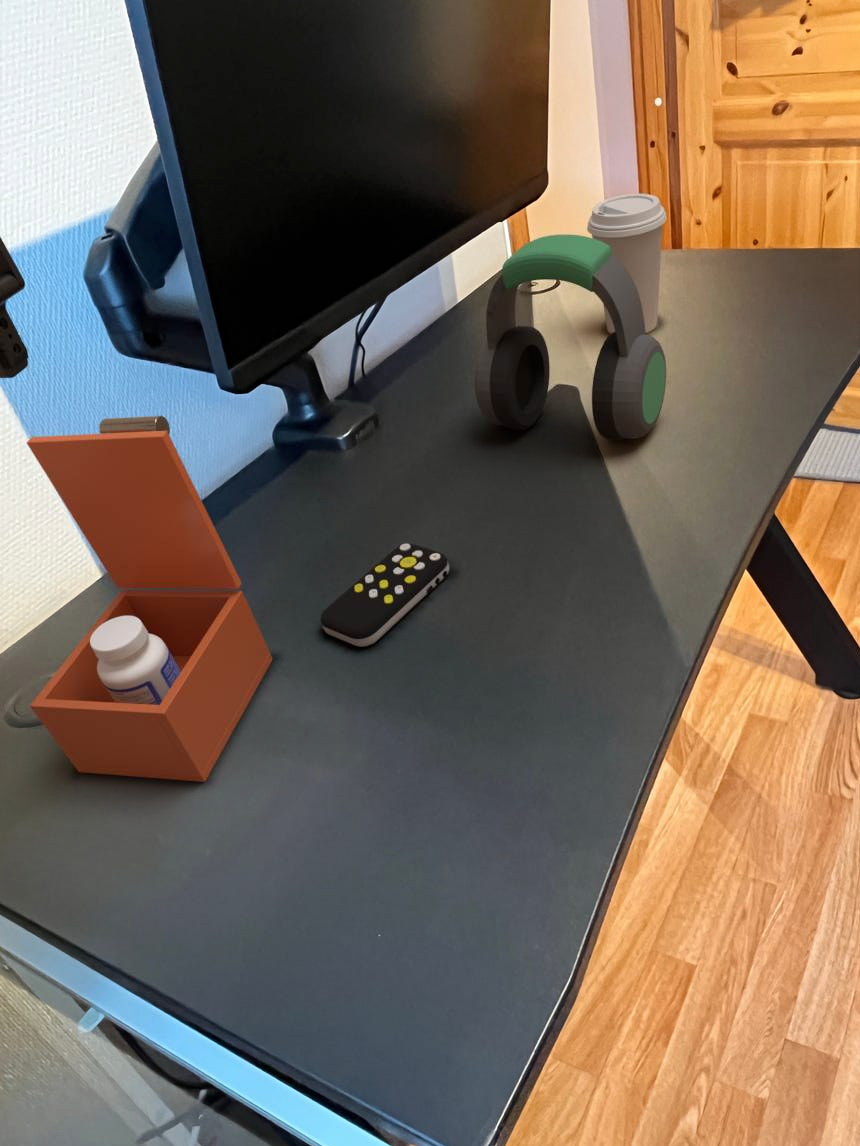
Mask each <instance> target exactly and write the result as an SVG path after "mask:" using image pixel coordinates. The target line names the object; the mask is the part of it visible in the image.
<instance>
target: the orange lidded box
mask: <svg viewBox="0 0 860 1146" xmlns="http://www.w3.org/2000/svg"><path fill="white" fill-rule="evenodd" d="M120 616H135V617H137V618H139V619H140V620H141V622H142V623H143V625H144V626H145V628H146V629H147V631H148V633H149V634H153V635H156V636H158V637H159V638H161V639H162V640H163V642H164V643H165V645H166V646H167V648H168V650H169V651H170V653H171V655H172V657H173V659H174V660H175V662H176V664H177V666H178V667H179V669H180V671H181V673H180V674H179V676H178V677H177V679H176V681H175V682H174V684H173V685H172V687H171V688H170V690H169V691H168V693H167V694H166V696H165V697H164V699H163V701H162V702H161V704H160V705H149V704H130V703H116V702H115V701H114V699H113V698H112V696H111V695H110V693H109V692H108V690H107V689H106V687H105V686H104V684H103V683H102V681H101V679H100V677H99V675H98V672H97V664H98V661H99V659H98V658H97V657H96V655H95V653H94V651H93V649H92V647H91V645H90V638H91V636H92V634H93V632H94V631H95V630H96V629H97V628H98V627H99V626H100V625H102V624H103V623H105V622H107V621H109V620H111V619H113V618H116V617H120ZM273 660H274V659H273V657H272V654H271V652H270V649H269V647H268V645H267V643H266V641H265V639H264V637H263V635H262V632H261V630H260V628H259V624H258V623H257V621H256V619H255V616H254V615H253V612H252V610H251V608H250V605H249V603H248V600H247V599H246V596H245V594H244V593H243V591H242V590H205V589H121V590H120V591H119V592H118V594H117V595H116V596H115V597H114V599H112V601H111V602H110V604H109V605H108V606H107V607H106V609H105V610H104V611H103V612H102V613H101V615H100V616H99V618H98V619H97V620H96V621H95V622H94V624H93V625H92V626H91V627H90V629H89V630H88V631H87V632H86V634H85V635H84V637H83V638H82V639H81V641H80V642H79V643H78V644H77V646H75V648H74V649H73V651H72V652H71V653H70V654H69V656H68V657H66V660H64V662H63V663H62V664H61V666H60V667H59V668H58V669H57V670H56V672H55V673H54V674H53V676H52V677H51V678H50V679H49V681H48V682H47V684H46V685H45V686H44V687H43V688H42V690H41V691H40V692H39V693H38V695H37V696H36V697H35V698H34V700H33V701H32V702H31V704H30V705H29V707H30V709H31V710H32V711H33V712H34V714H35V715H36V716H37V718H38V720H40V722H41V723H42V725H43V726H44V728H45V729H46V730H47V732H49V734H50V735H51V737H52V738H53V739H54V741H55V742H56V743H57V745H58V747H60V749H61V750H62V752H63V753H64V754H65V756H66V757H67V758H68V759H69V761H70V762H71V764H72V766H74V767H75V769H76V770H77V772H79V773H87V774H97V775H99V774H100V775H110V776H114V775H115V776H123V777H125V776H126V777H136V778H149V779H150V778H151V779H160V780H161V779H162V780H172V781H173V780H174V781H187V782H197V783H199V782H200V783H206V782H207V779H208V777H209V775H210V774H211V771H212V770H213V768H214V767H215V765H216V764H217V762H218V760H219V758H220V756H221V754H222V752H223V750H224V748H225V746H226V745H227V743H228V741H229V740H230V738H231V736H232V734H233V732H234V730H235V729H236V727H237V725H238V723H239V721H240V720H241V719H242V716H243V714H244V713H245V710H246V709H247V707H248V705H249V703H250V702H251V700H252V698H253V696H254V694H255V692H256V690H257V688H259V685H260V683H261V681H262V679H263V678H264V676H265V674H266V672H267V670H268V669H269V667H270V666H271V663H272V661H273Z"/></svg>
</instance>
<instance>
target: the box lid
mask: <svg viewBox="0 0 860 1146" xmlns="http://www.w3.org/2000/svg"><path fill="white" fill-rule="evenodd" d="M98 430H99V433H85V434H66V435H44V436H43V435H42V436H41V435H40V436H31V437H30V438H29V439H27V441H26V445H27V446H28V448H29V449H30V451H31V452H32V454H33V456H34V457H35V459H36V461H37V462H38V463H39V466H40V467H41V468H42V470H43V472H44V473H45V475H46V477H47V478H48V480H49V481H50V483H51V485H52V486H53V488H54V489H55V491H56V492H57V494H58V496H59V497H60V499H61V500H62V503H64V505H65V507H66V508H67V510H68V512H69V513H70V515H71V516H72V518H73V520H74V522H75V523H76V524H77V526H78V528H79V529H80V531H81V533H82V534H83V536H84V537H85V539H86V541H87V542H88V543H89V545H90V547H91V549H92V550H93V551H94V553H95V555H96V556H97V558H98V559H99V561H100V563H101V564H102V566H103V567H104V569H105V571H106V573H107V574H108V576H109V577H110V579H111V580H112V582H113V583H114V585H115V586H116V588H117V589H169V590H239V588H241V585H242V580H241V578H240V577H239V575H238V572H237V571H236V568H235V567H234V564H233V562H232V559H231V557H230V556H229V554H228V552H227V550H226V548H225V546H224V544H223V542H222V540H221V538H220V536H219V534H218V532H217V530H216V527H215V525H214V524H213V522H212V519H211V517H210V515H209V513H208V512H207V509H206V507H205V505H204V503H203V501H202V500H201V499H202V498H201V497H200V495H199V492H198V491H197V489H196V486H195V485H194V483H193V480H192V479H191V477H190V474H189V473H188V470H187V469H186V466H185V465H184V462H183V460H182V458H181V456H180V454H179V452H178V451H177V448H176V446H175V443H174V442H173V439H172V438H171V436H170V434H171V433H170V432H171V427H170V424H169V420H168V419H167V418H166V417H165V416H163V415H148V416H147V415H146V416H127V417H108V418H103V419H102V420H101V421H100V423H99V427H98Z"/></svg>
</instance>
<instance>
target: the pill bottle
mask: <svg viewBox="0 0 860 1146" xmlns="http://www.w3.org/2000/svg"><path fill="white" fill-rule="evenodd" d="M90 645H91V647H92V649H93V651H94V653H95V655H96V657H97V658H98V659H99V661H98V664H97V672H98V675H99V677H100V679H101V681H102V683H103V684H104V686H105V687H106V689H107V690H108V692H109V693H110V695H111V696H112V698H113V699H114V701H115V702H116V703H130V704H149V705H160V704H161V702H162V701H163V699H164V697H165V696H166V694H167V693H168V691H169V690H170V688H171V687H172V685H173V684H174V682H175V681H176V679H177V677H178V676H179V674H180V673H181V671H180V669H179V667H178V666H177V664H176V662H175V660H174V659H173V657H172V655H171V653H170V651H169V650H168V648H167V646H166V645H165V643H164V642H163V640H162V639H161V638H159V637H158V636H156V635H153V634H149V633H148V631H147V629H146V628H145V626H144V625H143V623H142V622H141V620H140V619H139V618H137V617H135V616H120V617H116V618H113V619H111V620H109V621H107V622H105V623H103V624H102V625H100V626H99V627H98V628H97V629H96V630H95V631H94V632H93V634H92V636H91V638H90Z"/></svg>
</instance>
